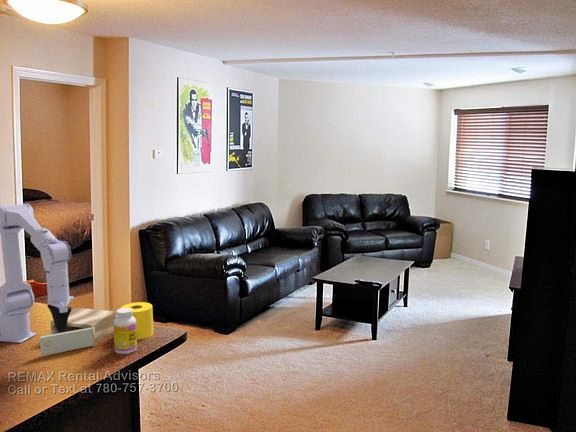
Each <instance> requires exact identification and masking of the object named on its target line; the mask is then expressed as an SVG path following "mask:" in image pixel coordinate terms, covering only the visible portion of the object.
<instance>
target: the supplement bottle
mask: <svg viewBox="0 0 576 432" xmlns="http://www.w3.org/2000/svg"><path fill="white" fill-rule="evenodd" d="M132 314H133V311H132V309H131V308H121V307H120V308H118V309H117V310H116V319H115V320H114V332H113V342H114V344H113V345H114V352H115V353H117V354H120V355H127V354H132V353H134V352H135V351H136V350H137V349H138V340H137V331H136V319H135V318H134V317H133V316H132Z"/></svg>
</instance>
